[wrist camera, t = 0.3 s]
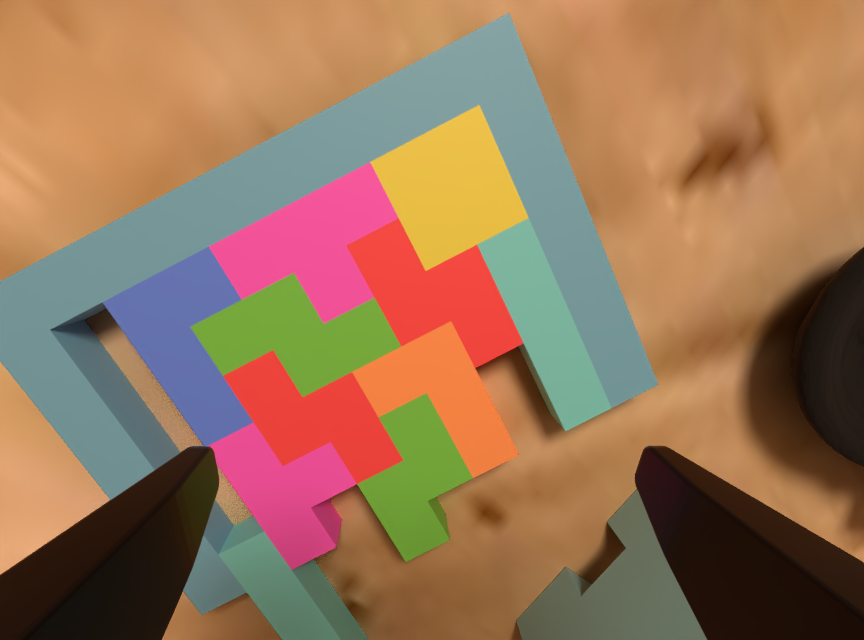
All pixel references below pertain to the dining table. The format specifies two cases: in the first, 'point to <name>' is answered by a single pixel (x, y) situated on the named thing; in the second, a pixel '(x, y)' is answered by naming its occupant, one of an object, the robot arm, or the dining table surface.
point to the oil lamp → (834, 361)
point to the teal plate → (616, 594)
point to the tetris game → (338, 320)
